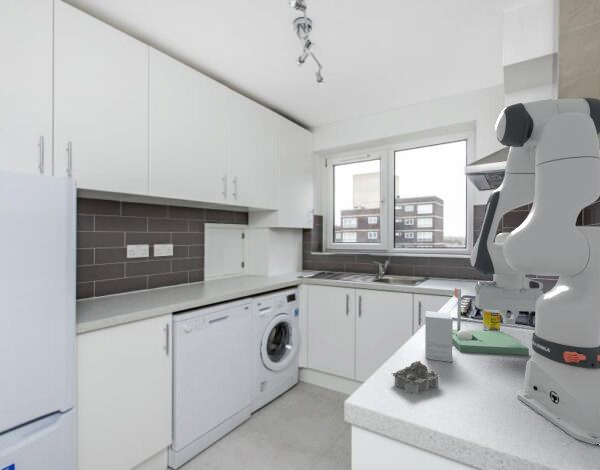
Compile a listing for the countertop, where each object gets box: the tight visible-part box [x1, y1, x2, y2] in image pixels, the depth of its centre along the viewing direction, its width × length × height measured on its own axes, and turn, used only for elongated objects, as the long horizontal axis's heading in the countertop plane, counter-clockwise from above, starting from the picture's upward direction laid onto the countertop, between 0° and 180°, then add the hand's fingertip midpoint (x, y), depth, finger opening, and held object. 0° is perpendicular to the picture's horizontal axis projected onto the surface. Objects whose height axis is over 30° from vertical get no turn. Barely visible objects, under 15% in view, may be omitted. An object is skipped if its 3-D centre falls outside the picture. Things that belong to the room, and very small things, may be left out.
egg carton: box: [391, 360, 442, 395], centre depth 78 cm, size 11×8×4 cm
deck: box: [452, 287, 530, 356], centre depth 107 cm, size 19×20×17 cm
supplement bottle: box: [482, 310, 501, 332], centre depth 120 cm, size 6×6×10 cm
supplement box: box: [424, 310, 454, 363], centre depth 95 cm, size 7×7×13 cm
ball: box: [457, 328, 472, 340], centre depth 107 cm, size 4×4×4 cm
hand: (508, 323), depth 104 cm, fingers closed
